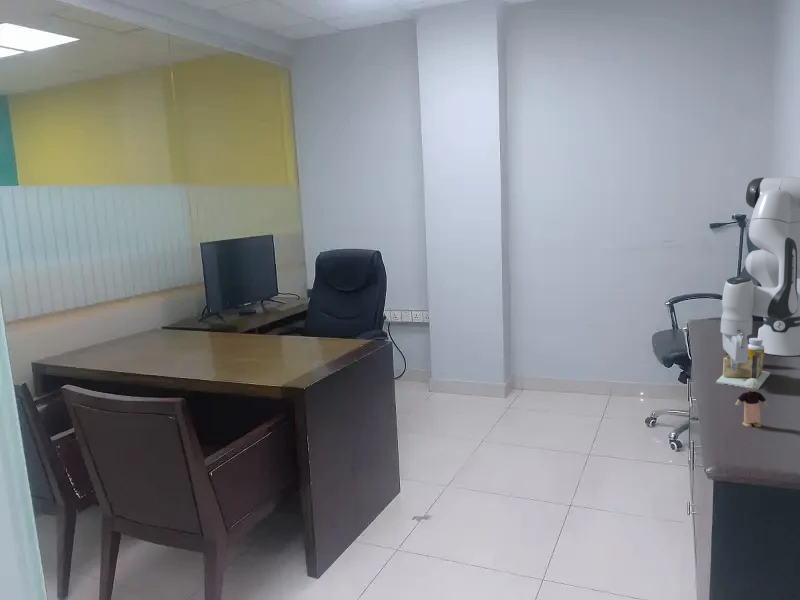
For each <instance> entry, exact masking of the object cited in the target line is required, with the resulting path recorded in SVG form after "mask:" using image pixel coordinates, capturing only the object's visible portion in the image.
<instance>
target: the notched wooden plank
mask: <svg viewBox="0 0 800 600" xmlns="http://www.w3.org/2000/svg"><path fill="white" fill-rule="evenodd" d="M722 365H723V366H722V367H723V368H722V375H723V376H726V377H751V374H752V359H751V358H749V356H748V360H747V362H746V363H738V370H737V371H735V370H731V368H730V367H731V362H730V356H729V355H726V354H725V357H723V364H722Z"/></svg>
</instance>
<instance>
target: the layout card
mask: <svg viewBox="0 0 800 600" xmlns="http://www.w3.org/2000/svg"><path fill="white" fill-rule="evenodd" d="M770 375H771V372H770V371H763V370H762V372H761V373H760V375H759V376H758V377H757V378H756V379H757V380H758V383H759V384H760V386H759V388H758V389H757V390H759V389H760V388H761V386H762V385H763V384H764V382H765V381H766V380H767V379H766V378H769V376H770ZM750 378H752V374H751V377H726V376H723V374H722V375H720V377H719V378H718V379H717V380H716V381H715V384H717V385H724V384H728V385H727V386H731V385H734V387H738V386H739V387H740V388H745V389H747V388H746V387H745V382H746V380H747V379H750Z"/></svg>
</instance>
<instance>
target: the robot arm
mask: <svg viewBox="0 0 800 600" xmlns="http://www.w3.org/2000/svg"><path fill="white" fill-rule="evenodd" d="M744 195H745V202H746V204H747V205H748V206H749V207H750V208H752V209H753V211H752V215H751V218H750V222H749V225H748V239H749V240H750V242H751V243H752V244H753V246H755V247H757V248H759V249H756V250H751V252H750V253H749V254H747V256H746V259H745V261H744V266H745V270H746V272H747V273H748V274H749V275H750V276H752V277H753V278H754V279H755V280H757V281H758V283H759V285H761V286H759V285H756V284H754V282H753V281H754V280H753V279H752V278H750V277H748V276H733V277H730V278H728V279H726V281H725V283H724V286H723V291H722V300H721V307H722V314H721V317H720V325H719V326H720V333H721V335H722V336H721V337H722V339H721V340H722V349H723V350H724V352H725V351H726V352H727V353H728V355H729V356H730V362H731V367H730V368H731V370H735V371H737V370H738V363H746V362H747V360H748V344H749V339H748V336H751V335H752V334H753V321H754V320H753V319H754V318H753V316H754V317H761V318H763V325H762V326H760V327H759V328H758V333H757V338H760V339H762V344H761V345H763V346H764V354H768V355H774V356H783V357H784V356H785V357H787V356H788V357H789V356H790V357H795V356H796V357H797V356H800V293H799V292H798V286H797V285H798V284H797V283H798V280H799V279H800V177H797V176H796V177H795V176H794V177H793V176H779V177H778V176H777V177H758V178H754V179H752V180H751V181H749V183H748V185H747V187H746V189H745V194H744ZM726 352H725V353H726Z"/></svg>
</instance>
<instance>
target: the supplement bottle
mask: <svg viewBox="0 0 800 600" xmlns="http://www.w3.org/2000/svg"><path fill="white" fill-rule="evenodd" d="M761 344H762V339H760V338H758V337H750V338H748V356H749V358H751V359H752V362H753V355H755V353H757V351H761V352H762V353H763V358H762V368H763V367H764V364H765V363H764V361H765V353H764V346H763V345H761Z"/></svg>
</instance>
